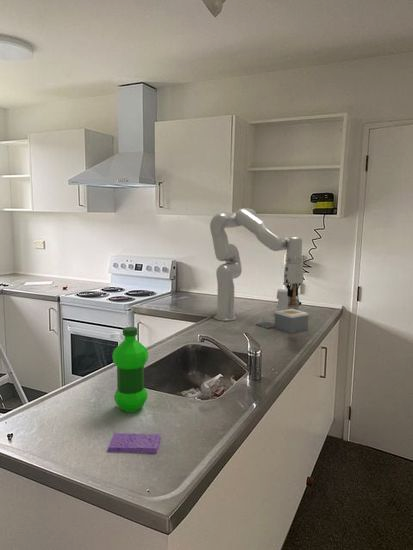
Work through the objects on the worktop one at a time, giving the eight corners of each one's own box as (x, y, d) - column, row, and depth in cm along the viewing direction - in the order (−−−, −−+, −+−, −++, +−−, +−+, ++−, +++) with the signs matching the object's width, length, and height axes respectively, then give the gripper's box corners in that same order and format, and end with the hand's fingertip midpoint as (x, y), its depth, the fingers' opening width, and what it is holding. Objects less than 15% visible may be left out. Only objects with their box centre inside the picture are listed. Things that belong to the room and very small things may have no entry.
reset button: (284, 320, 219) (284, 312, 219) (291, 319, 222) (291, 311, 221) (291, 322, 215) (291, 314, 214) (298, 321, 218) (298, 313, 217)
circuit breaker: (300, 317, 243) (302, 292, 241) (276, 316, 246) (276, 291, 244) (300, 314, 250) (301, 290, 248) (276, 313, 253) (277, 289, 251)
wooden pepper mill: (286, 305, 218) (287, 279, 216) (292, 304, 220) (293, 278, 218) (292, 307, 214) (293, 280, 212) (298, 306, 217) (299, 279, 215)
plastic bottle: (155, 407, 129) (154, 328, 125) (127, 419, 121) (126, 335, 117) (134, 397, 135) (133, 322, 132) (106, 408, 127) (105, 329, 124)
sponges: (157, 454, 104) (157, 447, 104) (107, 453, 105) (106, 446, 104) (161, 440, 111) (161, 433, 111) (114, 438, 112) (114, 432, 111)
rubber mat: (255, 324, 226) (255, 324, 226) (268, 322, 231) (268, 321, 231) (266, 328, 219) (266, 327, 219) (279, 326, 224) (279, 325, 224)
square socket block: (274, 328, 221) (275, 311, 219) (290, 324, 227) (291, 308, 226) (291, 333, 211) (291, 316, 210) (307, 330, 217) (308, 313, 216)
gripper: (287, 262, 206) (286, 299, 209) (310, 260, 215) (309, 295, 218) (276, 261, 213) (275, 296, 215) (299, 259, 222) (298, 293, 224)
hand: (292, 296), depth 217 cm, fingers closed on wooden pepper mill, 3 cm apart
